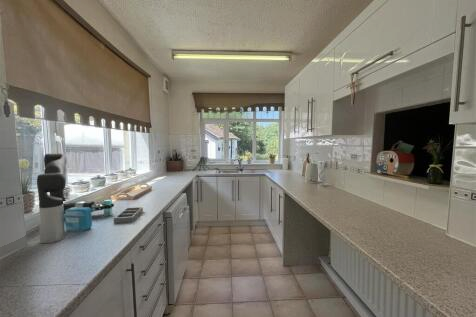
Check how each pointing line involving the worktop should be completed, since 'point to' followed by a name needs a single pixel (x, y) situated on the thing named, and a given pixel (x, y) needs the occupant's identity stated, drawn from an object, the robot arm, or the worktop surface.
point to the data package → (78, 219)
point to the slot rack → (128, 215)
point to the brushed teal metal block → (107, 211)
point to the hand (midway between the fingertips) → (112, 206)
